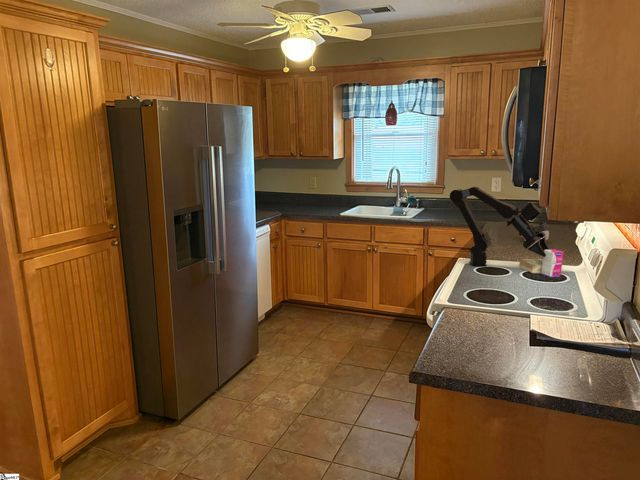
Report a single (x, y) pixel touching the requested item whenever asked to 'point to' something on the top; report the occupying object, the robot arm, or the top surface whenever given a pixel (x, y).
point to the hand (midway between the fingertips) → (547, 254)
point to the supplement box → (552, 263)
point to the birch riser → (532, 265)
